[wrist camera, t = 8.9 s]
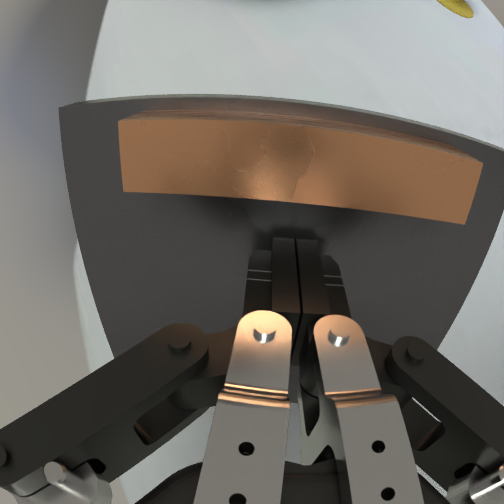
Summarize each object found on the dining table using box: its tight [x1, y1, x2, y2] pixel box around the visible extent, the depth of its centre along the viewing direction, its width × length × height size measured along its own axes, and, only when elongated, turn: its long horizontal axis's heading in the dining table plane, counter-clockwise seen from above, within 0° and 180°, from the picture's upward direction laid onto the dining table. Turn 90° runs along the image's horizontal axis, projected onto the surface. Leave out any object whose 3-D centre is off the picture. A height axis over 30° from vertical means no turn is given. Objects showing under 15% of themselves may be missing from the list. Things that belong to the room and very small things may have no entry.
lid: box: [59, 94, 504, 403], centre depth 12 cm, size 17×15×3 cm
